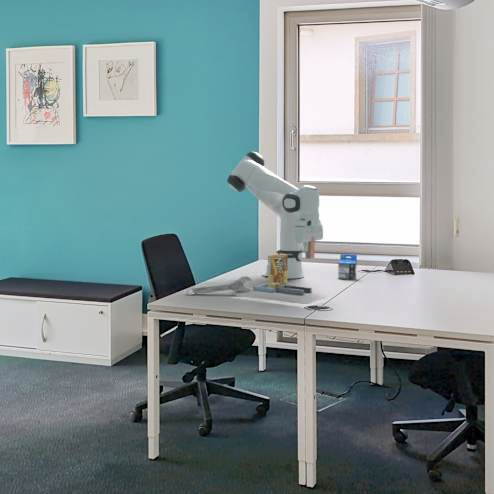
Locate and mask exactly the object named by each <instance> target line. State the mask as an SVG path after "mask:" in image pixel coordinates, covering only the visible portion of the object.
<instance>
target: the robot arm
mask: <svg viewBox="0 0 494 494" xmlns="http://www.w3.org/2000/svg"><path fill="white" fill-rule="evenodd" d="M227 184H228V186H229V187H230V189H231V190H233V191H235V192H237V193H241V192H242V193H243V191H245V190H248V191H249V192H250V193H251V194H252V195H253V196H254V197H255V198H256V199H258V200H259V202H260V203H262V204H263V205H265V206H266V207H267V208H268V209H269V210H270V211H272V212H273V213H274V214H275V215H276V216H278V217H279V218H280V233H279V250H276V251H275V253H276V254H277V255H278V254H286V255H287V256H288V259H287V279H301V278H302V279H303V278H304V277H305V275H304V271H303V270H304V269H303V260H302V259H303V250H304V253H305V252H308V251H309V248H308V242H310V241H311V237H314V236H315V239H314V247H315V246H316V241H320V240H322V239H323V238H324V229H323V228H324V227H323V224H322V222H321V220H320V212H319V207H320V194H319V193H320V192H319V190H318V188H317V187H316V186H313V185H306V184H304V185H301V186H300V187H299V188H298V187H296V186H295V185H293V184H291V183H290V182H289V181H287V180H285V179H282V178H281V177H279V176H278V175H276V174H275V173H273V172H272V171H270V170H269V169H267V168H265V160H264V158H263V156H262V155H261V154H259V152H255V151H252V150H251V151H249V152H248V153H247V154H246V155H245V156H244V157H243V158H242V159H241V160H240V161H239V162H238V163H237V165H236V166H235V167H234V168H233V171H232V172H231V174H229V175H228V177H227ZM302 246H303V250H302ZM261 276H262V277H266V276H268V264H266V269H265V272H262V274H261Z"/></svg>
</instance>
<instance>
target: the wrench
mask: <svg viewBox="0 0 494 494" xmlns="http://www.w3.org/2000/svg"><path fill="white" fill-rule="evenodd" d="M245 282H250V283H253V280H252V278H251V277H250V276H247V275H243V276H241V277H239V278H237V279H236V280H233V281H231V282H229V283H223V284H214V285H205V286H197V287H190V288H188V289H186V294H187V293H189V290H191V291H192V293H202V294H209V293H215V292H223V291H234V292H248V291H250V290H251V287H248V286H245V285H244V283H245Z"/></svg>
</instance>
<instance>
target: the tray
mask: <svg viewBox="0 0 494 494" xmlns="http://www.w3.org/2000/svg"><path fill="white" fill-rule="evenodd" d="M284 285H285V284H280V287H282V288H284ZM252 289H253V291H259V292H266V293H267V292H268V293H276V291H275V289H273V288H268V282H267V283H262V284H258V285H255V286H253V287H252Z"/></svg>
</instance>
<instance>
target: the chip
mask: <svg viewBox="0 0 494 494" xmlns="http://www.w3.org/2000/svg"><path fill="white" fill-rule="evenodd" d="M267 283H268V282H267ZM280 285H281V284H280V283H275V282H272V283H268V287H267V288H273V289H275V292H276V287H280Z"/></svg>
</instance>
